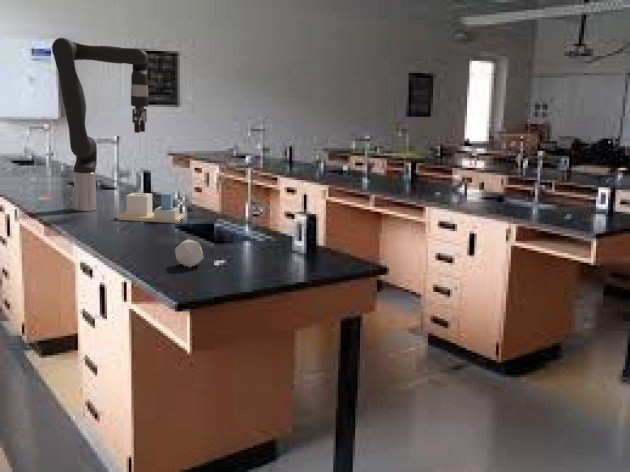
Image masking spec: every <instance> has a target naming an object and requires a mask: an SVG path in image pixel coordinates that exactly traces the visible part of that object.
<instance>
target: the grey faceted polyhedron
mask: <svg viewBox="0 0 630 472" xmlns="http://www.w3.org/2000/svg"><path fill="white" fill-rule="evenodd" d="M202 248H203V247H202V246H201V244H200V243H199V241H195V240H192V239H189V238H188V239H186V240H184V241H181V242H180V243H179V244H178V246H176V247H175V248H174V251H175V259H176V260H177V262H178V264H179V265H180V264H182V265H181V266H183V265H184V266H183V267H186V266H188V267H187V268H189V267H191V268H193V267H195V266H196V265H198V263H200V262H201V261H202V260H203V259H204V253H203V249H202ZM192 266H193V267H192Z"/></svg>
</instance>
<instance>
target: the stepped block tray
mask: <svg viewBox="0 0 630 472" xmlns="http://www.w3.org/2000/svg"><path fill="white" fill-rule="evenodd" d="M184 217H185V218H186V213H180V207H174V206H173V210H161V206H158V207H157V208H155V209H154V210H153V193H146V192H145V193H143V192H131V193H129V194H126V211H124V212H123V213H121V214H119V215H117V221H129V222H130V221H131V222H149V223H150V222H153V223H170V224H171V223H172V224H173V223H174V224H178V223H177V222H179V221H180V220H181V219H183V218H184ZM185 218H184V219H185ZM184 219H183V220H184ZM181 221H182V220H181ZM181 221H180V222H181ZM180 222H179V223H180Z"/></svg>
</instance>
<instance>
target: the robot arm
mask: <svg viewBox="0 0 630 472" xmlns="http://www.w3.org/2000/svg"><path fill="white" fill-rule="evenodd" d="M51 50H52V51H51V52H52V54H53V59H54V61H55V65H56V68H57V73H58V79H59V86H60V91H61V92H60V93H61V98H62V104H63V107H64V111H65V112H64V113H65V116H66V121H67V126H68V133H69V134H68V135H69V145H70V150H71V152H72V154H73V155H74V156H75V157H76V158H75V163H74V165H73V187H74V188H73V189H72V210H73V211H77V212H92V211H96V210H97V192H96V191H97V185H96V179H97V178H96V168H97V164H98V163H97V162H98V161H97V158H98V156H97V155H98V147H97V144H96V140H94V138H92V137H91V136H88V133H87V129H86V114H87V104H86V103H87V101H86V97H85V93H84V89H83V86H82V83H81V81H80V78H79V75H78V72H77V70H76V64H75V61H94V62H95V61H96V62H101V63H111V64H118V65H119V64H120V65H121V64H122V65H123V64H126V65H127V64H128V65H132V72H131V76H130V83H131V85H130V106H132V107H134V108H132V118H131V119H132V123H133V125H134V129H133V130H134V133H135V134H138V133H140V132H141V133H145V132H146V123H147V122H148V119H147V116H148V115H147V108H148V107H149V87H148V82H149V81H148V80H149V79H148V71H149V56H148V53H147V52H146V51H145V50H143V49H140V48H136V47H135V48H133V47H131V48H130V47H120V46H112V45H87V44H83V43H82V44H81V43H78V42H74V41H72V40H70V39H67V38H64V37H58V38H56V39H55V40H54V41H53V43H52V46H51ZM145 107H147V108H145Z"/></svg>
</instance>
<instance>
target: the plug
mask: <svg viewBox="0 0 630 472" xmlns="http://www.w3.org/2000/svg"><path fill="white" fill-rule="evenodd" d="M173 194H174V193H171V192H170V193H167V192H163V193H162V194H161V196H160V197H161V198H160V200H161V203H160V204H161V206H160V207H161V210H173V207H174V195H173Z"/></svg>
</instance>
